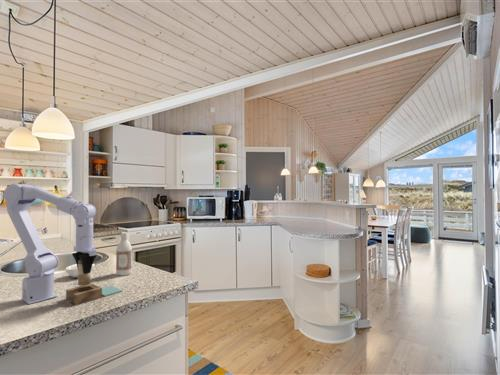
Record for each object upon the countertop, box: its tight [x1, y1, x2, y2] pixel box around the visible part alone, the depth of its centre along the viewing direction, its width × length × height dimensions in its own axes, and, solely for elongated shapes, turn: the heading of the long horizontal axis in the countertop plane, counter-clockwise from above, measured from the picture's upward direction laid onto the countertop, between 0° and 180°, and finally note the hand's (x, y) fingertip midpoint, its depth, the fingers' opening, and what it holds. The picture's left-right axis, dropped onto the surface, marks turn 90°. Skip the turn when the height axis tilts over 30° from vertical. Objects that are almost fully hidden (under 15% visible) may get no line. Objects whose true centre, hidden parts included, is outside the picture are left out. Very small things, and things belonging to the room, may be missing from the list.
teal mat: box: [101, 285, 123, 298], centre depth 115 cm, size 7×9×1 cm
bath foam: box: [115, 231, 133, 277], centre depth 140 cm, size 7×7×20 cm
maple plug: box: [77, 260, 91, 286], centre depth 108 cm, size 4×4×9 cm
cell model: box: [65, 263, 96, 278], centre depth 135 cm, size 10×12×7 cm
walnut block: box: [65, 282, 103, 306], centre depth 108 cm, size 9×9×4 cm
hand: (84, 272), depth 108 cm, fingers closed on maple plug, 4 cm apart
